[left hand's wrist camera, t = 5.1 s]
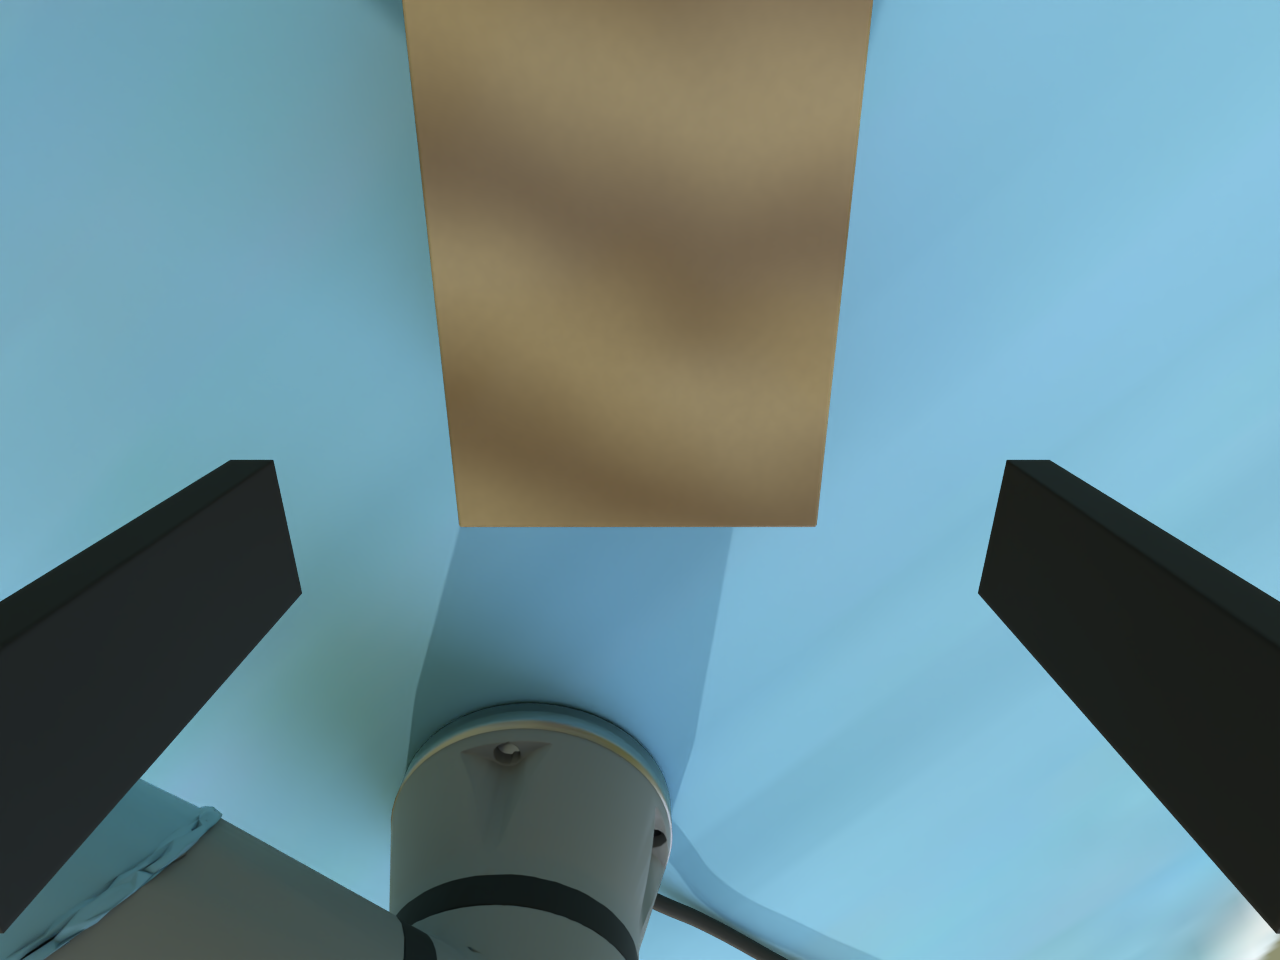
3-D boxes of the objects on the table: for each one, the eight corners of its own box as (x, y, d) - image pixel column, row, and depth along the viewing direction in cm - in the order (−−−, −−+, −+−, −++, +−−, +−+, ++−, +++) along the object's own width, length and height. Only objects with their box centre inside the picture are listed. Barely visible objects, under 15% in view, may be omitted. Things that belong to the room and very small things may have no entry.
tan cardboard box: (488, -66, 24) (370, -283, 13) (787, -66, 24) (904, -282, 13) (520, 418, 30) (458, 528, 20) (755, 418, 30) (817, 527, 20)
